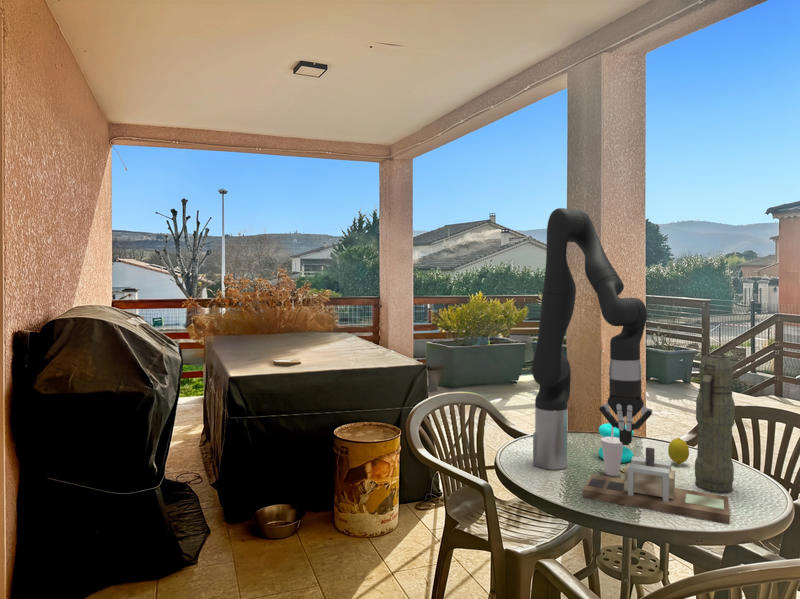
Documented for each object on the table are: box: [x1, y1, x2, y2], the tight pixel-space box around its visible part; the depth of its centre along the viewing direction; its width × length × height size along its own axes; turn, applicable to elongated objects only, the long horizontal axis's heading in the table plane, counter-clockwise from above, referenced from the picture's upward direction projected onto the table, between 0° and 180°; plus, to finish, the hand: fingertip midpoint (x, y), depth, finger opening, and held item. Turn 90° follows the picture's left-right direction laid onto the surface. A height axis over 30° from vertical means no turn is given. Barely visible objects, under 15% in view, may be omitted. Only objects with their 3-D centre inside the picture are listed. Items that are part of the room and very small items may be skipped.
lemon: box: [667, 437, 690, 465], centre depth 163 cm, size 6×6×8 cm
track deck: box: [582, 473, 731, 525], centre depth 137 cm, size 32×12×2 cm, turn 61°
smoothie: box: [600, 426, 625, 477], centre depth 156 cm, size 6×6×14 cm
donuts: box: [598, 422, 635, 464], centre depth 168 cm, size 10×10×10 cm
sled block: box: [624, 447, 676, 499], centre depth 137 cm, size 11×6×11 cm, turn 61°
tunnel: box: [628, 456, 672, 502], centre depth 137 cm, size 9×9×7 cm
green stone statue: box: [694, 353, 736, 494], centre depth 145 cm, size 9×12×35 cm
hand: (625, 444), depth 140 cm, fingers closed
